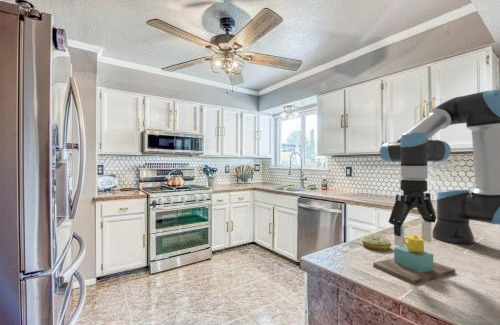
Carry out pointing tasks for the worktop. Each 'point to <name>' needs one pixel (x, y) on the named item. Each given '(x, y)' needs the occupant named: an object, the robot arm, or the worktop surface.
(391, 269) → the walnut board
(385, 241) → the decorated donut
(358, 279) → the worktop surface
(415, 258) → the base brick
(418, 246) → the teapot
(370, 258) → the worktop surface
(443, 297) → the worktop surface
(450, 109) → the robot arm
